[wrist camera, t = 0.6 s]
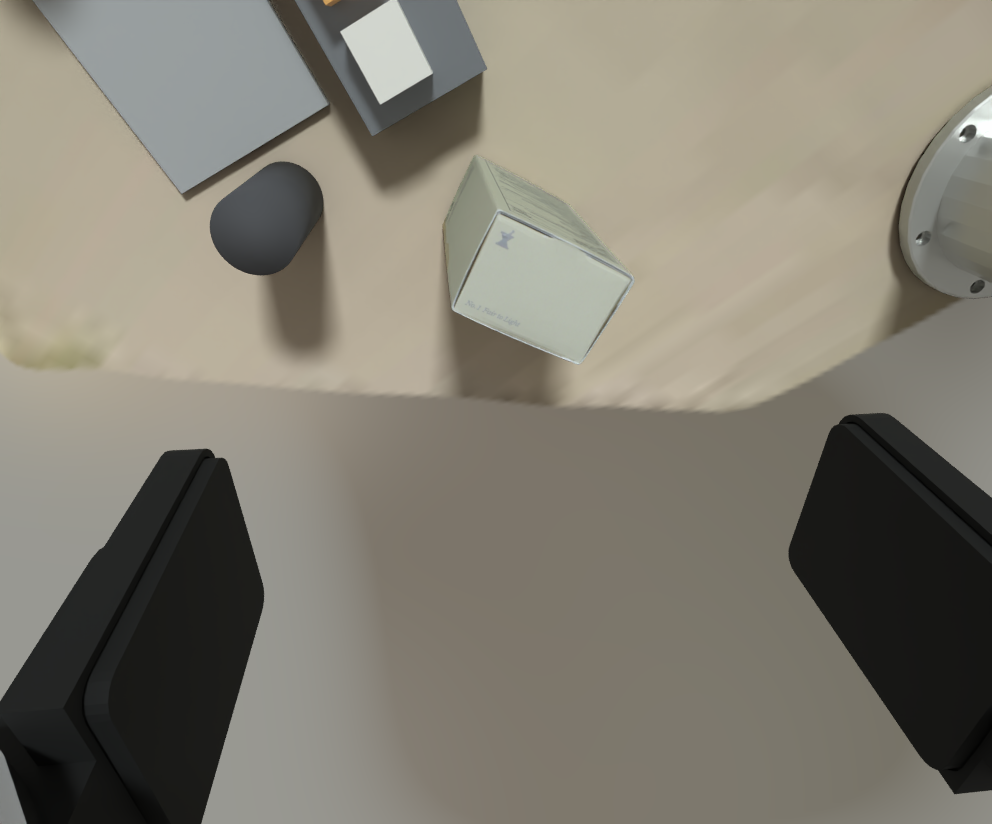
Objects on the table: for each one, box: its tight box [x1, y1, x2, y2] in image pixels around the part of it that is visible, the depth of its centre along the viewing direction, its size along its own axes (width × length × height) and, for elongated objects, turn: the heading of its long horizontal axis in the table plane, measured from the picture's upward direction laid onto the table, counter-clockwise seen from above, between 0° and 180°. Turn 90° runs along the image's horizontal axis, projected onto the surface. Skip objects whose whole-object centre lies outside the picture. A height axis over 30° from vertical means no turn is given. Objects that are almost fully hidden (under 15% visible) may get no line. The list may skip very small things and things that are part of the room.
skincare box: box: [443, 155, 634, 365], centre depth 28 cm, size 6×4×12 cm
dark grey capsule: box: [210, 162, 323, 275], centre depth 29 cm, size 4×4×7 cm
